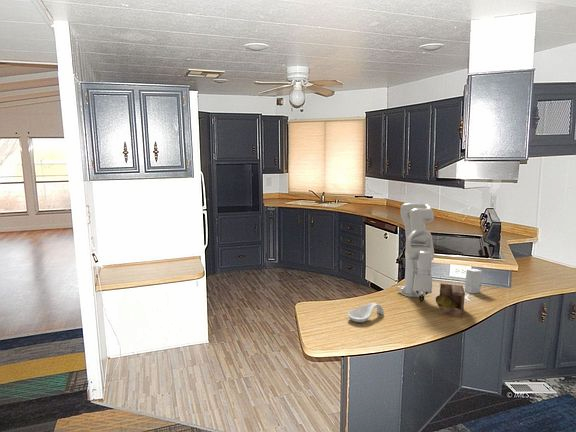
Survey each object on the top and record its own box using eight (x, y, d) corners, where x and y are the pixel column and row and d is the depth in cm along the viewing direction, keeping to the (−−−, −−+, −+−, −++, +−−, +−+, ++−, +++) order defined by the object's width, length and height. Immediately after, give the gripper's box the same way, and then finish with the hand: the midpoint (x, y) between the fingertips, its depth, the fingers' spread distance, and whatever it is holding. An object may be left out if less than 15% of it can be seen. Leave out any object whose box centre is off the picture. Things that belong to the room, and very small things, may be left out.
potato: (449, 315, 236) (450, 301, 234) (432, 307, 247) (433, 294, 246) (460, 312, 239) (461, 299, 238) (442, 305, 251) (444, 292, 249)
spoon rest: (359, 327, 217) (359, 314, 216) (343, 319, 227) (343, 307, 225) (388, 316, 232) (389, 304, 231) (372, 310, 241) (372, 298, 240)
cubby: (439, 313, 237) (441, 290, 235) (438, 305, 251) (440, 283, 248) (462, 316, 233) (464, 293, 231) (460, 307, 247) (462, 285, 245)
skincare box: (471, 293, 271) (473, 271, 269) (464, 290, 277) (466, 269, 275) (480, 292, 275) (483, 270, 272) (473, 289, 280) (475, 268, 278)
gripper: (410, 272, 242) (407, 302, 246) (437, 275, 238) (434, 305, 241) (410, 268, 249) (408, 297, 253) (437, 271, 245) (434, 300, 248)
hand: (421, 301), depth 247 cm, fingers closed
